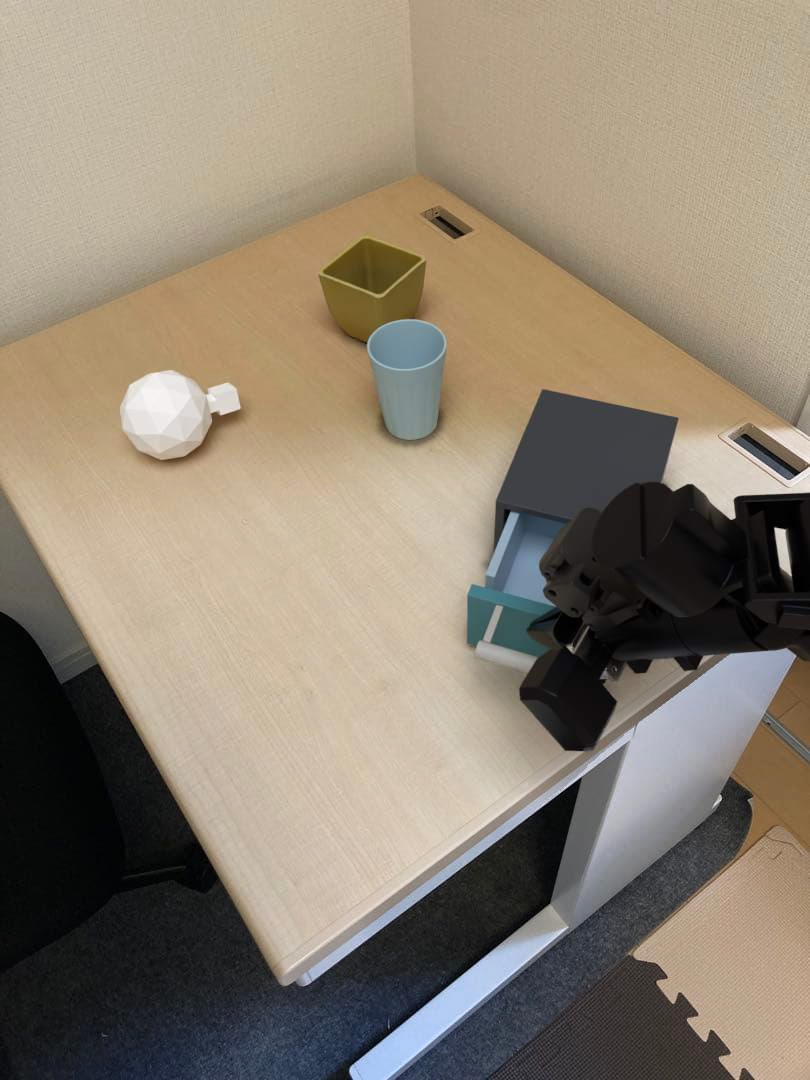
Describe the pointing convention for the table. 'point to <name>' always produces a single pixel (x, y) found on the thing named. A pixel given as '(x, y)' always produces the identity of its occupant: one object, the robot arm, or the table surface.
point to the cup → (408, 375)
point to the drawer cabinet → (581, 457)
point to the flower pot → (372, 285)
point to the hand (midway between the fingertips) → (531, 631)
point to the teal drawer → (512, 595)
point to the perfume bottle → (172, 413)
